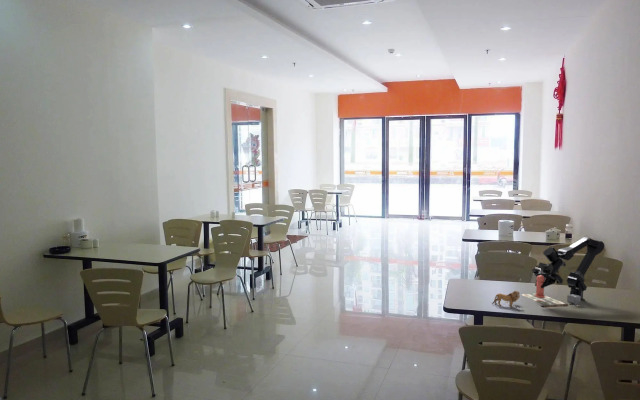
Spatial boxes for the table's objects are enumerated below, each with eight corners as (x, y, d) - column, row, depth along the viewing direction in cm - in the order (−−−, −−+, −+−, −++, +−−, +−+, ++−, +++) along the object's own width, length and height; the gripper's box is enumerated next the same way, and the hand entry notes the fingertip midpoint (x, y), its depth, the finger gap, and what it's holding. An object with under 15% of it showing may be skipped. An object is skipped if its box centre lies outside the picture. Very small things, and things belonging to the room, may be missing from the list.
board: (540, 295, 294) (540, 292, 293) (568, 306, 271) (568, 303, 271) (517, 296, 290) (517, 294, 290) (543, 307, 267) (543, 305, 267)
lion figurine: (518, 305, 271) (519, 290, 270) (519, 308, 266) (520, 292, 265) (491, 303, 275) (491, 288, 274) (492, 306, 269) (492, 290, 269)
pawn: (538, 295, 280) (539, 273, 279) (546, 297, 276) (547, 275, 275) (533, 296, 277) (534, 275, 276) (541, 298, 273) (542, 276, 272)
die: (571, 302, 279) (572, 294, 278) (580, 304, 274) (580, 296, 274) (567, 303, 276) (567, 295, 275) (575, 306, 272) (576, 297, 271)
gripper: (534, 254, 285) (519, 274, 282) (560, 261, 267) (543, 281, 265) (544, 266, 288) (529, 286, 285) (570, 273, 271) (554, 294, 268)
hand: (538, 286), depth 276 cm, fingers closed on pawn, 4 cm apart
